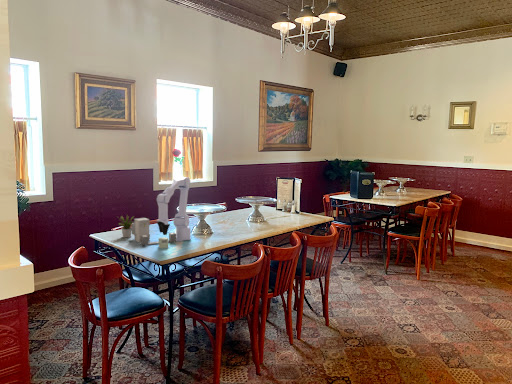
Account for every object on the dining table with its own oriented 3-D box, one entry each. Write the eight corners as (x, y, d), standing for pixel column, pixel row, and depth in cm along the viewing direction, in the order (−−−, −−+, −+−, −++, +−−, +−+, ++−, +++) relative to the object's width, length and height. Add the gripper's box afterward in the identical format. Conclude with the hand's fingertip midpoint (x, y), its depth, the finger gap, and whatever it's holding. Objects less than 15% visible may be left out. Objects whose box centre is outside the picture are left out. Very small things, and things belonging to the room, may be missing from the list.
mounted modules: (173, 239, 268) (173, 232, 267) (176, 241, 263) (176, 233, 263) (141, 242, 257) (141, 235, 256) (143, 244, 253) (142, 236, 252)
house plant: (112, 239, 267) (112, 216, 265) (116, 235, 281) (115, 212, 279) (134, 239, 270) (133, 216, 268) (136, 234, 284) (136, 212, 282)
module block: (166, 246, 254) (166, 237, 253) (168, 247, 250) (168, 238, 249) (158, 246, 251) (158, 237, 251) (160, 248, 247) (160, 239, 247)
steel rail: (175, 240, 268) (175, 239, 268) (177, 242, 264) (177, 240, 264) (140, 244, 256) (140, 243, 256) (141, 245, 253) (141, 244, 253)
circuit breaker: (141, 236, 277) (140, 216, 275) (150, 240, 266) (149, 219, 264) (130, 238, 272) (130, 217, 270) (139, 242, 261) (139, 220, 259)
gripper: (154, 211, 252) (154, 231, 254) (160, 215, 240) (160, 236, 241) (164, 210, 256) (164, 230, 257) (171, 214, 243) (171, 235, 245)
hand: (163, 233), depth 250 cm, fingers open, 7 cm apart
